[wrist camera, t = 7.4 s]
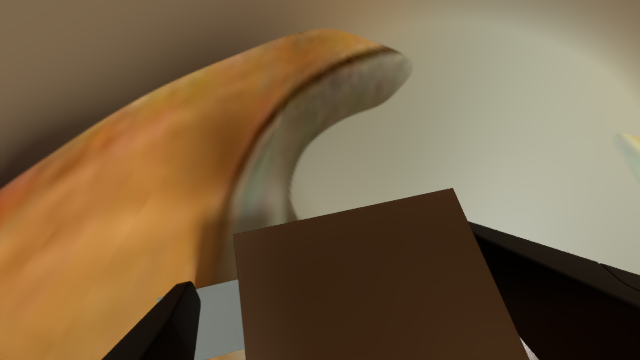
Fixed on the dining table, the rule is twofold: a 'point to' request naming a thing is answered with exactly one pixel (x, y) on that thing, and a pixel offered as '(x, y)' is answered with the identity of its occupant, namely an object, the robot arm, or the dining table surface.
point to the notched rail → (219, 321)
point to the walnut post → (373, 287)
